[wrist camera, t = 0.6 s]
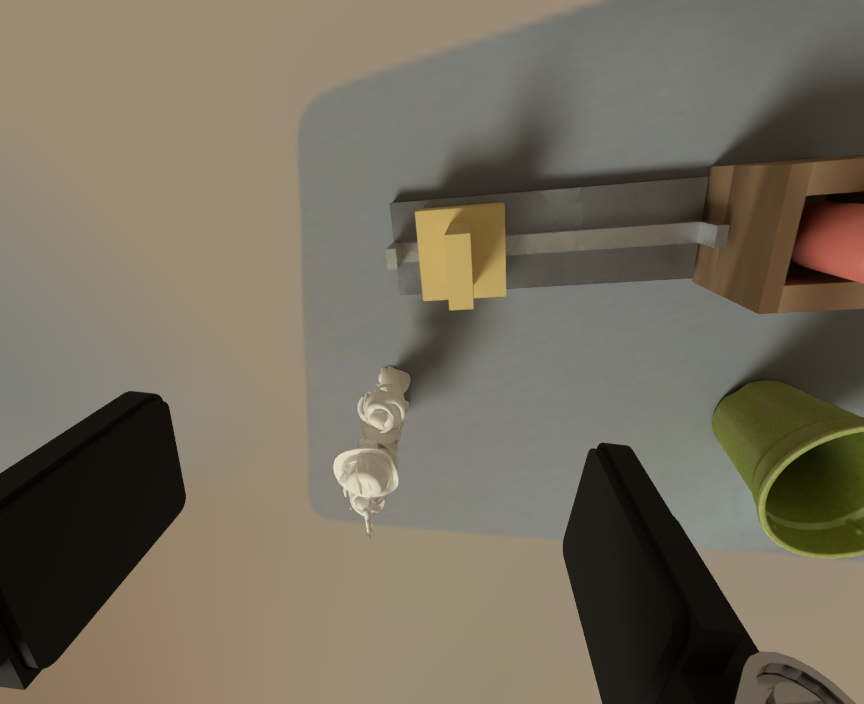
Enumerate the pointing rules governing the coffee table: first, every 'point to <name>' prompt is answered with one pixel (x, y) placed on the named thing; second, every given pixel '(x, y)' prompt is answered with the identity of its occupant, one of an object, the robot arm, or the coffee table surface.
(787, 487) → the plant pot
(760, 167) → the wooden box
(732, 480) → the coffee table surface
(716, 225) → the rail
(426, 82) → the coffee table surface
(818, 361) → the coffee table surface
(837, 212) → the plunger
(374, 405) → the flower shoulder figurine
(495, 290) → the carriage
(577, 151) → the coffee table surface
